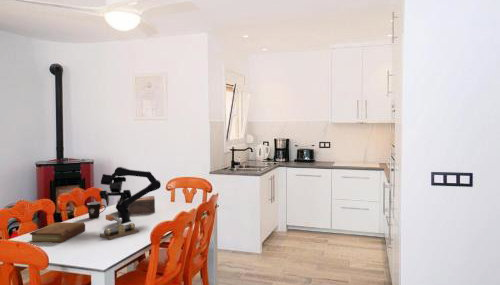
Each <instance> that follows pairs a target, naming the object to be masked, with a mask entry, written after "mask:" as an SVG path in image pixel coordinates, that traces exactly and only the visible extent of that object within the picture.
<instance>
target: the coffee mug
mask: <svg viewBox="0 0 500 285" xmlns="http://www.w3.org/2000/svg"><path fill="white" fill-rule="evenodd" d="M102 206H103V207H104V209H103V210H101V207H102ZM86 207H87V212H88V218H89V219H93V220H95V219H99V218H100V214H101V213H103V212H104V211H105V210H106V208H107V205H105V204H101V202H100V201H94V202H93V201H92V202H88V203H86Z"/></svg>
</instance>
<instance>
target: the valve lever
mask: <svg viewBox="0 0 500 285" xmlns="http://www.w3.org/2000/svg"><path fill="white" fill-rule="evenodd" d="M105 220H107V221H110V222H112V221H116V222H117V223H121V222H122V218H118V217H115V216H114V215H113V214H105ZM121 224H122V223H121Z"/></svg>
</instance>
